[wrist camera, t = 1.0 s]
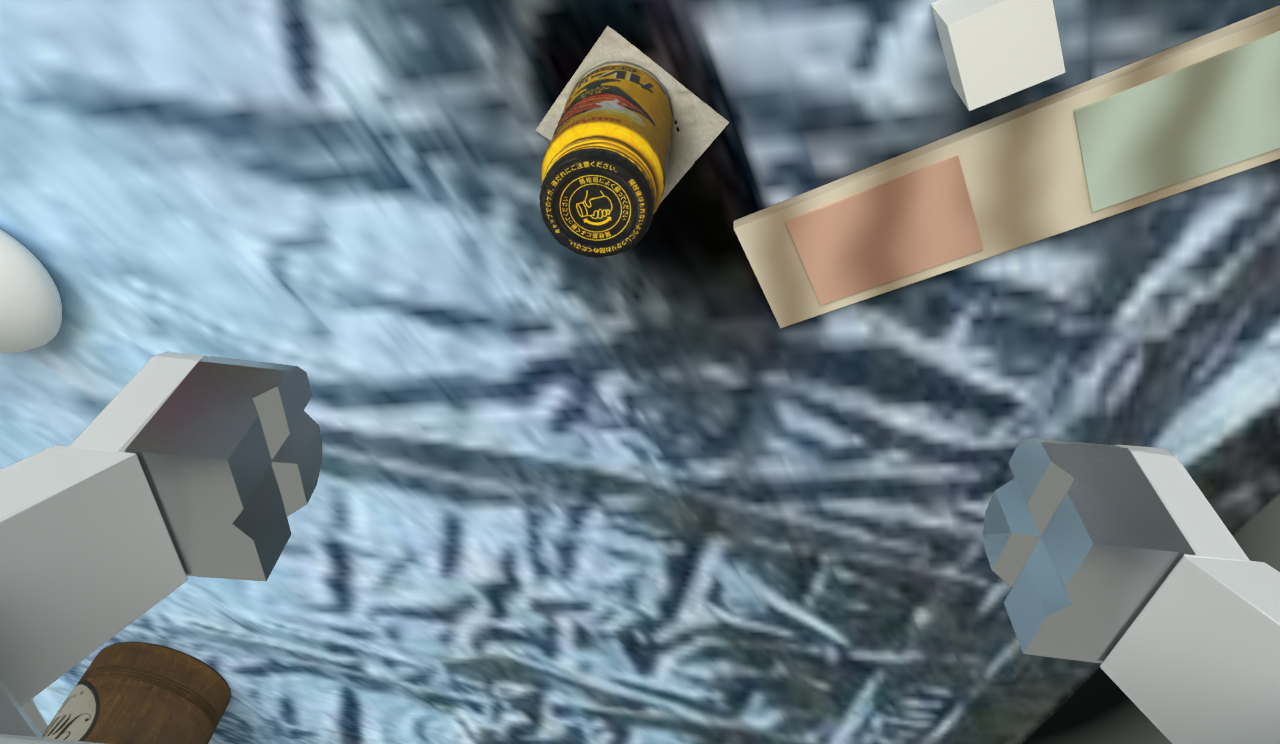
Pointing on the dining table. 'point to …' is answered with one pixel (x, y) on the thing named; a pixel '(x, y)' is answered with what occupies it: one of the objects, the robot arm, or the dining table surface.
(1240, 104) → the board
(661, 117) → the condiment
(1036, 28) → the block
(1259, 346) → the dining table surface
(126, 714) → the wooden container
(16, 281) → the flower in vase
